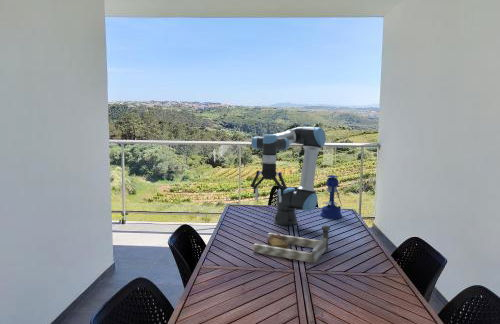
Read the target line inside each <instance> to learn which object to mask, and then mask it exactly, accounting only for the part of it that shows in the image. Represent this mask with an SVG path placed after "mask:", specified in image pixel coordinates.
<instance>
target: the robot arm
mask: <svg viewBox="0 0 500 324" xmlns="http://www.w3.org/2000/svg"><path fill="white" fill-rule="evenodd" d="M326 141H327V137H326V132H325V130H324V129H323V128H322V127H319V126H317V127H316V126H297V127H293V128H289V129H286V130H285V131H282V132H277V133H273V134H268V133H267V134H263V136H253V137H252V138H251V142H250V143H251V147H252V148H253V149H255V150H262V165H261V167H262V168H261V169H262V170H261V171H260V170H257V171H256V173H255V175H254V178H253V180H252V182H251V184H250V187H251V188H253V195H254V196H255V197H254V200H255V201H258V200H259V186H260V184H261V183H262V182H263V181H264V180H270V181H273V182H274V183H275V184H276V185H277V187H278V188H279V189H278V190H277V194H276V195H277V196H276V199H277V201H276V203H277V205H276V212H275V216H274V219H273V222H274V224H276V225H280V226H293V225H296V224H297V223H298V218H297V215H296V212H295V210H298V211H299V210H300V211H304V212H312V211H314V209H315V208H316V207H317V205H318V201H319V200H318V195H317V194H316V190H315V189H314V183H315V177H316V170H317V163H318V162H317V161H318V154H319V151H320V150H321V149H322V147H323V146H325V143H326ZM293 144H294V145H302V147H303V149H304V152H303V159H302V160H303V161H302V166H301V167H302V168H301V172H300V173H301V175H300V181H299V186H298V187H297V188H295V187H287V184H286V182H285V180H284V177H283V173H282V171H279V172H277V152H284V151H286V150H288V149H289V148H290V145H293ZM260 175H262V177H261V178H260V179H259V180H258V178H259V177H260ZM276 176H278V178H279V180H278V179H277V177H276ZM257 180H258V181H257Z"/></svg>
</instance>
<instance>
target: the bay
mask: <svg viewBox="0 0 500 324" xmlns="http://www.w3.org/2000/svg"><path fill="white" fill-rule="evenodd" d="M330 230H331V227H330V225H321V231H322V238H321V239H320V240H319V239H314V238H308V237H307V238H304V237H300V236H295V235H293V236H292V235H288V234H287V235H286V234H281V233H280V236H282V239H283V241H284V242H285V243H287V245H293V246H300V247H306V248H312V250H311V252H309V251H301V250H297V249H290V248H287V249H285V248H279V247H274V246H268V244H267V245H266V244H261V243H254V244H253V249H252V251H253V253H258V254H263V255H268V256H273V257H279V258H286V259H290V260H295V259H296V260H295V261H301V262H306V263H307V262H308V263H311V264H317V262H318V261H319V259H320V258H321V257H322V255H323V254H324V252H325V251H326V249H328V248H329V232H330ZM277 234H278V233H273V232H268V233H267V240H268V239H270V237H272V236H274V235H277Z"/></svg>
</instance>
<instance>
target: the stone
mask: <svg viewBox="0 0 500 324" xmlns="http://www.w3.org/2000/svg"><path fill="white" fill-rule="evenodd" d="M276 234H277V235H274V236H272V237H270V239H268V238H267V240H266V241H267V242H266V243H267V245H268V246H274V247H279V248H285V249H288V244H287V243H285V242H284V241H283V239H282V236H280V234H281V233H280V234H279V233H276Z"/></svg>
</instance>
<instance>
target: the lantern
mask: <svg viewBox="0 0 500 324" xmlns="http://www.w3.org/2000/svg"><path fill="white" fill-rule="evenodd" d="M326 177H327V179H326V184H325V186H326V187H327V188H326V190H325V191H326V192H328V193H329V194H327V193H324V195H325V196H326V198H327V199H329V200H328V201H326V202H324V203H325V204H326V205H324V206H323V207H321V212H320V214H319V216H320V217H321V218H324V219H328V220H339V219H342V217H343V214H342V213H341V210H342V209H341V208H342V207H343V205H342V202H341V198H340V194H338V192H339V189H337V188H338V187H340V185H339V179H338V178H339V176H338V175H334V174H328V175H326ZM335 193H336V195H335ZM328 196H329V197H328ZM336 198H338V200H339V203H338V202H335V201H336V200H335V199H336ZM339 204H340V205H339Z"/></svg>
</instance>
